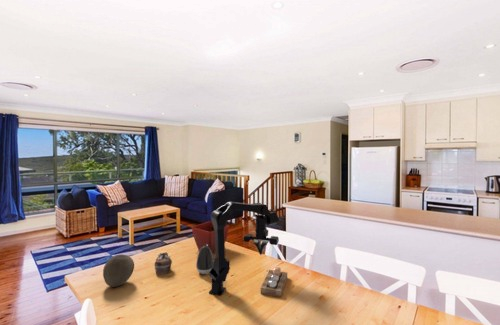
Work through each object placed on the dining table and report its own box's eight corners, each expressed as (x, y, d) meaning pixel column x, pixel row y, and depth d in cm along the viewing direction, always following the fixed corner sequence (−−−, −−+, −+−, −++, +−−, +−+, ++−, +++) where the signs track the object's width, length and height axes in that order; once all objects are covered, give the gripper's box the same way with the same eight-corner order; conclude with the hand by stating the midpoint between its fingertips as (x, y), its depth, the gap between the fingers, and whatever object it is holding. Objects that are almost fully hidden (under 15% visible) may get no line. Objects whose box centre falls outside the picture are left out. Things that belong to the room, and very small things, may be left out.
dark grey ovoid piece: (216, 268, 146) (216, 242, 146) (211, 276, 136) (211, 249, 135) (199, 267, 147) (199, 242, 147) (193, 276, 137) (193, 249, 136)
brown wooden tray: (281, 297, 116) (281, 291, 116) (260, 293, 119) (260, 287, 119) (287, 277, 135) (287, 272, 134) (269, 275, 138) (269, 269, 137)
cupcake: (152, 270, 144) (151, 253, 144) (168, 265, 150) (168, 249, 149) (157, 276, 136) (156, 259, 136) (174, 271, 142) (174, 254, 142)
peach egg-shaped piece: (279, 279, 130) (279, 270, 129) (272, 278, 131) (272, 269, 131) (281, 275, 133) (281, 267, 133) (273, 274, 135) (273, 266, 134)
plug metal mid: (277, 287, 124) (277, 278, 124) (270, 286, 126) (270, 277, 125) (279, 283, 128) (279, 274, 128) (271, 282, 129) (271, 273, 129)
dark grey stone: (121, 293, 120) (120, 263, 120) (96, 290, 123) (95, 260, 123) (139, 278, 134) (139, 251, 134) (117, 276, 137) (116, 249, 137)
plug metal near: (275, 293, 119) (275, 283, 119) (267, 291, 120) (267, 282, 120) (277, 288, 123) (277, 279, 123) (269, 287, 124) (269, 278, 124)
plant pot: (210, 257, 161) (210, 232, 161) (191, 250, 173) (190, 226, 172) (229, 248, 177) (229, 225, 176) (211, 242, 188) (210, 220, 187)
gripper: (280, 223, 140) (280, 250, 140) (249, 221, 145) (249, 247, 146) (276, 229, 129) (276, 258, 130) (242, 226, 135) (243, 254, 135)
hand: (261, 254), depth 135 cm, fingers closed
